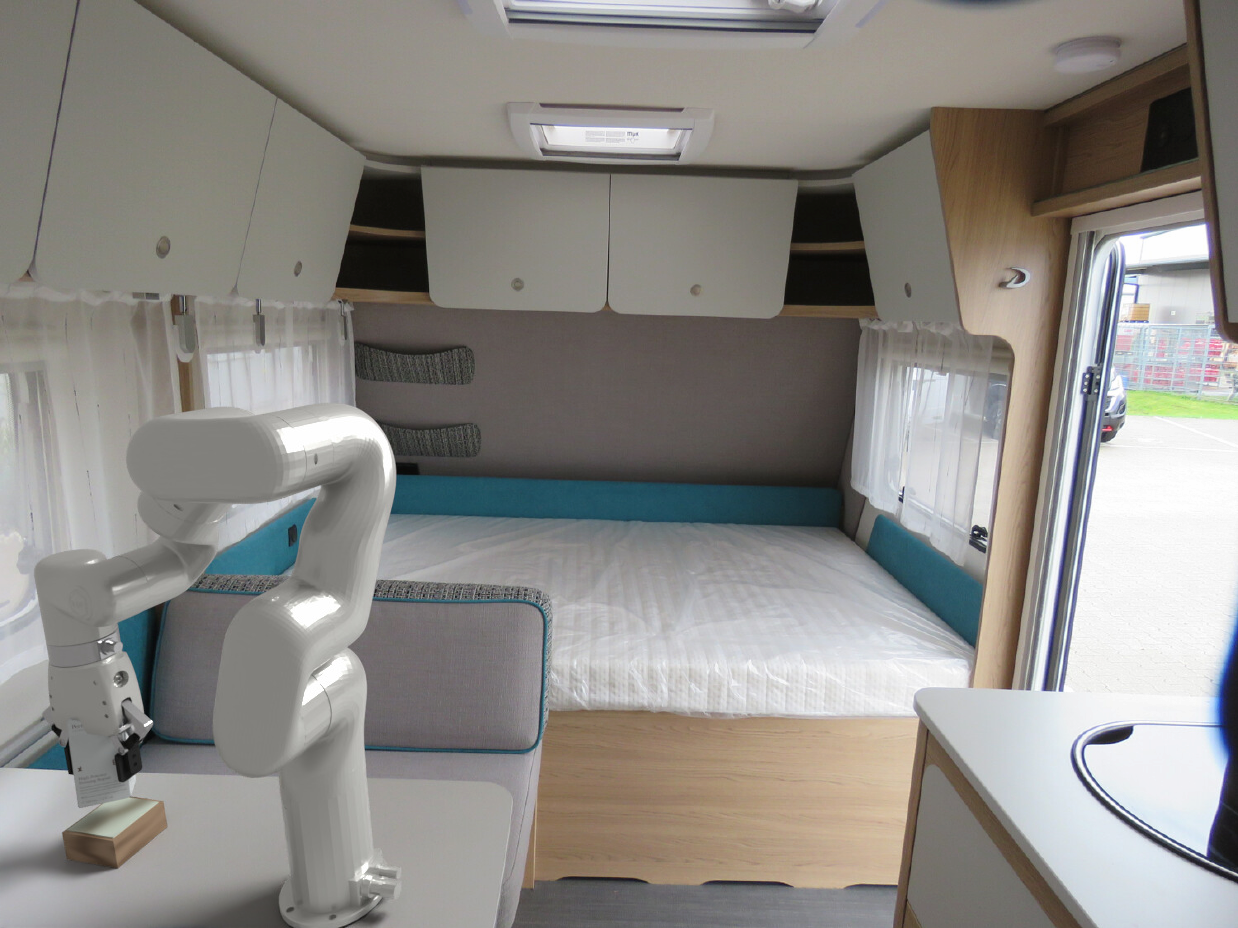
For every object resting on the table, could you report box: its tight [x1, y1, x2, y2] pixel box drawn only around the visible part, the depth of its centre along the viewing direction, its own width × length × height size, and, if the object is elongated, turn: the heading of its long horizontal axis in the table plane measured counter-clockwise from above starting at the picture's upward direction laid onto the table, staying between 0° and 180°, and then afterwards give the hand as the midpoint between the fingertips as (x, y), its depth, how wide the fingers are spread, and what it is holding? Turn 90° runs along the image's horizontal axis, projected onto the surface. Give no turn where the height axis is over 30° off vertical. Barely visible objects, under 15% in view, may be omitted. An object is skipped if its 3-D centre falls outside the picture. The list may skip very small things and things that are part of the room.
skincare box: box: [67, 718, 137, 809], centre depth 98 cm, size 6×4×12 cm
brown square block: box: [61, 795, 168, 869], centre depth 100 cm, size 8×8×4 cm
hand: (105, 771), depth 98 cm, fingers closed on skincare box, 7 cm apart
